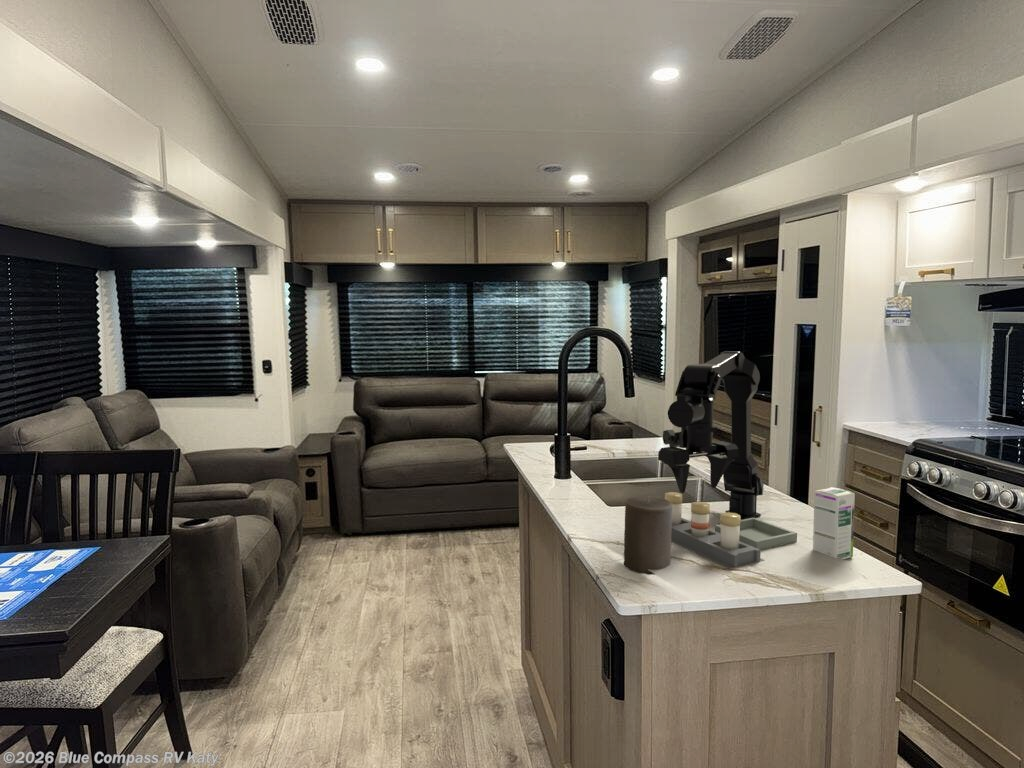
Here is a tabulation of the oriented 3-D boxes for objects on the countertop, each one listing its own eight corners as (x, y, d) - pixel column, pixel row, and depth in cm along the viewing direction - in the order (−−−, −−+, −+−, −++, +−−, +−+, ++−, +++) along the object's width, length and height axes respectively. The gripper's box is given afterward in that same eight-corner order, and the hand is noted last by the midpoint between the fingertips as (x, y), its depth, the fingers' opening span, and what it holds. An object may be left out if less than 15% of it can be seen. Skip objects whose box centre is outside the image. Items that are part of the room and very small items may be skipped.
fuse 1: (673, 527, 152) (674, 491, 151) (685, 532, 149) (685, 495, 148) (660, 530, 151) (661, 493, 150) (671, 535, 147) (672, 497, 146)
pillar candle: (623, 572, 128) (625, 501, 126) (623, 555, 137) (625, 488, 136) (672, 576, 126) (675, 504, 124) (669, 558, 136) (671, 490, 134)
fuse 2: (729, 551, 136) (730, 511, 135) (743, 557, 133) (744, 516, 132) (715, 554, 134) (716, 514, 134) (729, 561, 131) (730, 519, 130)
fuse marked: (700, 538, 144) (700, 500, 143) (712, 544, 141) (713, 505, 140) (686, 541, 143) (687, 503, 142) (698, 547, 139) (699, 507, 138)
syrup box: (836, 562, 132) (839, 495, 131) (811, 553, 137) (814, 489, 136) (853, 557, 135) (856, 492, 133) (828, 549, 140) (831, 485, 139)
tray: (753, 529, 154) (753, 517, 153) (796, 545, 142) (797, 532, 142) (714, 537, 148) (714, 525, 148) (756, 555, 137) (756, 541, 136)
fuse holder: (642, 532, 152) (643, 518, 152) (675, 526, 156) (675, 512, 156) (729, 573, 127) (729, 556, 127) (764, 564, 131) (765, 548, 131)
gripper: (705, 414, 151) (704, 477, 152) (643, 419, 143) (642, 486, 144) (741, 420, 141) (738, 488, 142) (676, 426, 133) (674, 498, 134)
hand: (697, 490), depth 141 cm, fingers open, 9 cm apart
